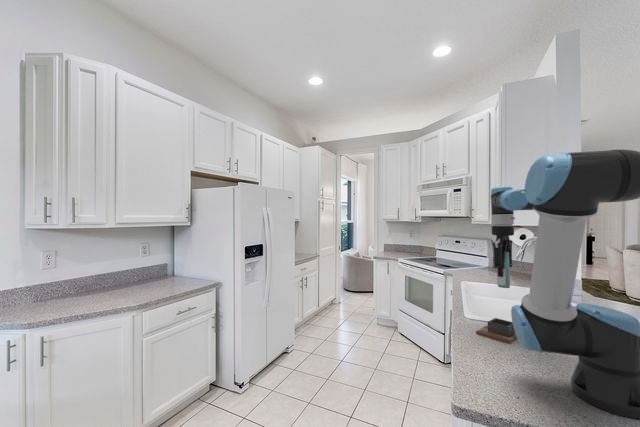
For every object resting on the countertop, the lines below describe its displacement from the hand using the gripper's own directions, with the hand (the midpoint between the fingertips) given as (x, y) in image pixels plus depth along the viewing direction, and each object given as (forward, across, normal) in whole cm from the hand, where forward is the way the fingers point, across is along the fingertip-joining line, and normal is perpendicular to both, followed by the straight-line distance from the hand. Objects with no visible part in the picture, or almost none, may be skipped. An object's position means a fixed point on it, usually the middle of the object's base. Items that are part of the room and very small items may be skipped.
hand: (503, 283), depth 110 cm
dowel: (+1, 0, 0) cm, 1 cm away
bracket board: (+22, +2, +2) cm, 22 cm away
